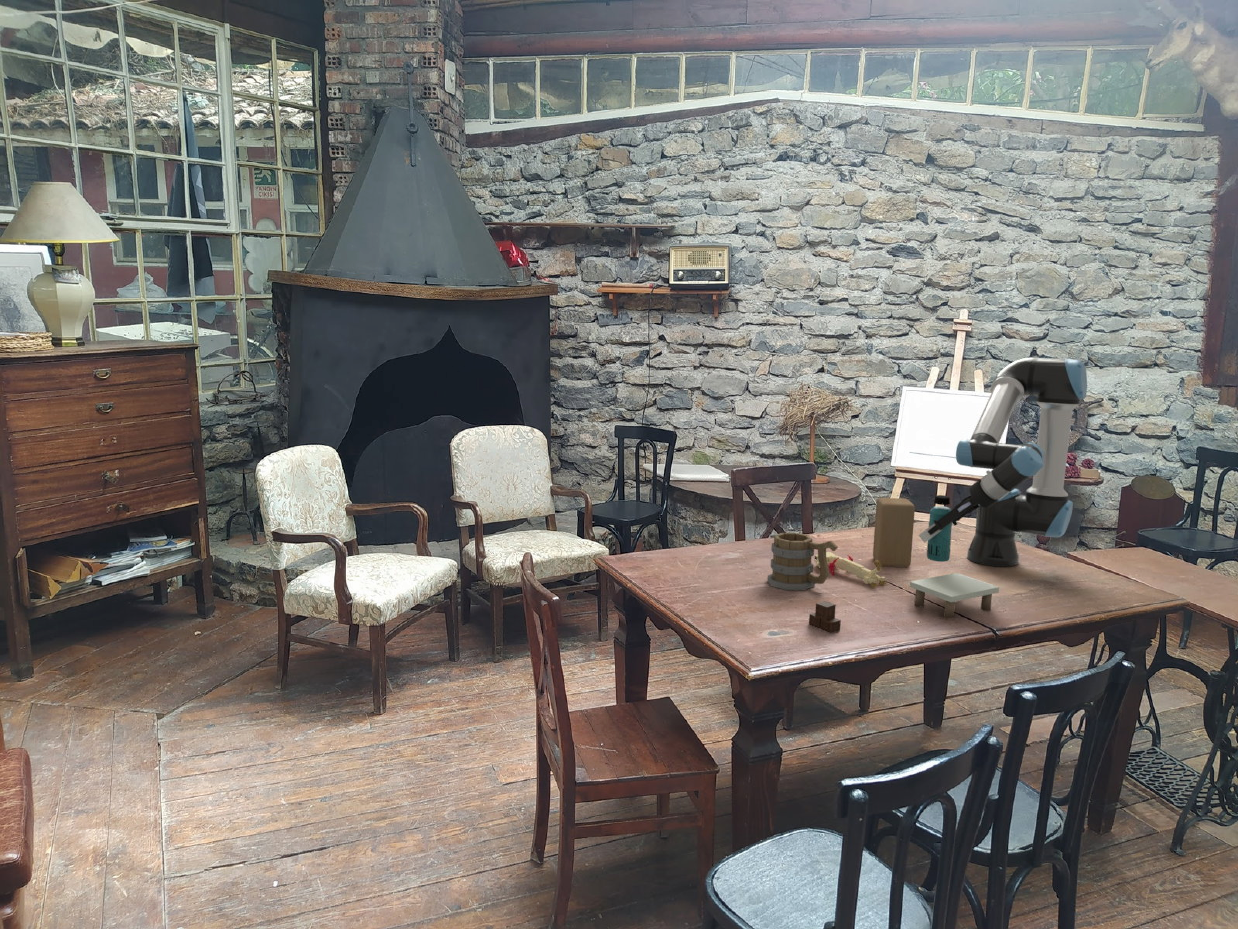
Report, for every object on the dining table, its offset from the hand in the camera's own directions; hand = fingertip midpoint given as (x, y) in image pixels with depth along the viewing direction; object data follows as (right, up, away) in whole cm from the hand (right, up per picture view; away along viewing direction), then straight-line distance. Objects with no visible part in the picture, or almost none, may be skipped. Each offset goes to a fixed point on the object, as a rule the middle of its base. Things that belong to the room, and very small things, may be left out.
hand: (927, 536), depth 255 cm
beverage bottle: (+3, -8, -1) cm, 9 cm away
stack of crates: (-37, -21, -33) cm, 53 cm away
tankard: (-37, -15, -2) cm, 39 cm away
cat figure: (-21, -13, +9) cm, 26 cm away
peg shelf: (+1, -18, -18) cm, 25 cm away
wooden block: (-3, -10, +23) cm, 25 cm away
